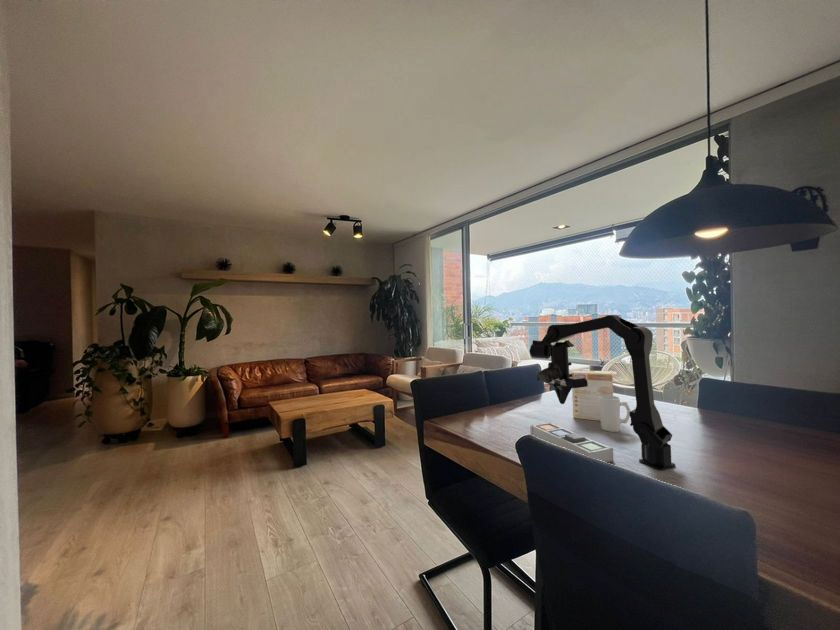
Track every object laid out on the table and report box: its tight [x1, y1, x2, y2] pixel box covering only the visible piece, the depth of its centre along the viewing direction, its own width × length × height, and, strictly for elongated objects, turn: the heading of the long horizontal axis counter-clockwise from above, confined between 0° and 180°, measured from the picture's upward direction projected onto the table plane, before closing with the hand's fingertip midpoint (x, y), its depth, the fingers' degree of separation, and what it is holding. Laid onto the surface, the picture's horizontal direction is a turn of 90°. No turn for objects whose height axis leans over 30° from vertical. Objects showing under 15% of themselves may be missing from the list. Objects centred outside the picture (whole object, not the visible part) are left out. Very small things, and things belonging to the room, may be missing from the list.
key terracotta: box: [539, 425, 556, 431], centre depth 123 cm, size 4×4×2 cm
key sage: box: [580, 443, 602, 451], centre depth 104 cm, size 4×4×2 cm
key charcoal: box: [565, 432, 586, 444], centre depth 110 cm, size 4×4×2 cm
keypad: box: [529, 421, 614, 463], centre depth 113 cm, size 27×9×4 cm, turn 19°
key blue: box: [551, 430, 569, 437], centre depth 116 cm, size 4×4×2 cm
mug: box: [599, 395, 631, 433], centre depth 129 cm, size 10×7×12 cm, turn 60°
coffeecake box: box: [571, 369, 614, 422], centre depth 143 cm, size 15×7×20 cm, turn 59°
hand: (562, 403), depth 121 cm, fingers closed
